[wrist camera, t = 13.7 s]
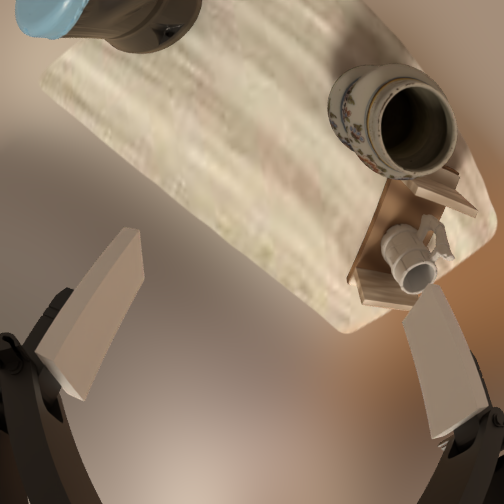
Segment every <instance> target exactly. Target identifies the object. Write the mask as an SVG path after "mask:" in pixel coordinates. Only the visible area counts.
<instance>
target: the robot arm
mask: <svg viewBox="0 0 504 504" xmlns="http://www.w3.org/2000/svg"><path fill="white" fill-rule="evenodd" d="M201 3H202V0H16V5H15V15H16V21H17V24H18V26H19V28H20V30H21V31H22V32H23V33H24V34H26V35H29V36H31V37H41V38H48V39H51V40H52V39H53V40H54V39H59V38H96V39H105V40H106V41H107V42H108V43H110V44H111V45H112V46H113V47H115V48H116V49H118V50H121V51H124V52H128V53H137V54H146V53H153V52H156V51H160V50H162V49H165V48H167V47H169V46H170V45H172V44H174V43H175V42H177V41H178V40H179V39H181V38H182V37H183V36H184V35H185V34H186V33H187V32H188V31H189V30H190V28H191V27H192V26H193V24H194V23H195V21H196V19H197V17H198V15H199V12H200V9H201ZM144 279H145V277H144V269H143V260H142V250H141V239H140V230H138V229H133V228H127V227H124V228H123V229H122V230H121V231H120V232H119V234H118V235H117V236H116V237H115V238H114V240H113V241H112V242H111V243H110V244H109V246H108V247H107V248H106V249H105V251H104V252H103V253H102V254H101V256H100V257H99V258H98V259H97V261H96V262H95V263H94V264H93V266H92V267H91V269H90V270H89V271H88V272H87V274H86V275H85V276H84V278H83V279H82V280H81V282H80V283H79V284H78V286H77V287H76V289H75V290H73V289H70V288H65V289H64V290H62V291H61V292H60V293H58V294H57V295H56V296H55V297H54V299H53V300H52V302H51V303H50V304H49V307H48V308H47V309H46V310H45V312H44V313H43V316H41V317H40V319H39V320H38V322H37V323H36V325H35V326H34V328H33V330H32V331H31V333H30V334H29V336H28V338H27V339H26V341H25V342H24V344H23V345H22V346H21V345H20V343H19V341H18V340H17V339H16V337H15V336H14V335H13V334H11V333H1V334H0V504H29V503H28V499H29V501H30V504H102V502H101V500H100V498H99V497H98V494H97V492H96V490H95V488H94V486H93V484H92V482H91V480H90V478H89V476H88V473H87V471H86V469H85V467H84V464H83V462H82V459H81V457H80V455H79V452H78V449H77V447H76V444H75V441H74V439H73V436H72V433H71V430H70V427H69V423H68V420H67V417H66V414H65V410H64V407H63V403H62V399H61V396H60V394H59V391H60V389H61V387H62V388H63V389H64V390H65V391H66V392H67V393H68V394H70V395H71V396H74V397H76V398H78V399H80V400H82V401H85V400H86V397H87V395H88V392H89V390H90V388H91V385H92V383H93V381H94V379H95V376H96V374H97V372H98V370H99V368H100V365H101V363H102V361H103V359H104V357H105V355H106V353H107V350H108V348H109V346H110V344H111V342H112V340H113V338H114V336H115V334H116V332H117V330H118V328H119V326H120V324H121V322H122V320H123V318H124V316H125V315H126V313H127V311H128V309H129V307H130V305H131V303H132V301H133V299H134V298H135V296H136V294H137V292H138V290H139V288H140V287H141V285H142V283H143V281H144ZM402 323H403V326H404V329H405V332H406V336H407V339H408V342H409V345H410V348H411V352H412V355H413V359H414V362H415V366H416V370H417V374H418V377H419V381H420V385H421V389H422V394H423V398H424V403H425V407H426V412H427V417H428V422H429V427H430V433H431V438H432V439H434V438H438V437H442V436H444V435H446V434H448V433H450V432H451V431H453V430H454V435H452V436H450V437H449V438H447V439H445V440H443V441H442V442H440V444H439V445H438V447H440V446H442V445H444V444H446V443H447V445H445V446H444V447H442V450H444V452H443V455H442V457H441V459H440V461H439V463H438V466H437V468H436V470H435V472H434V474H433V476H432V478H431V480H430V482H429V484H428V485H427V487H426V489H425V491H424V493H423V494H422V496H421V498H420V499H419V501H418V503H417V504H504V455H502V456H500V457H499V453H500V451H502V450H504V413H503V411H501V409H500V408H498V407H492V404H491V401H490V397H489V394H488V391H487V388H486V385H485V382H484V379H483V378H482V373H481V371H480V370H479V369H480V368H479V365H478V362H477V360H476V358H475V356H474V355H473V353H472V352H471V350H469V347H468V345H467V342H466V340H465V338H464V335H463V333H462V331H461V328H460V327H459V324H458V322H457V320H456V318H455V315H454V313H453V311H452V309H451V307H450V305H449V303H448V301H447V299H446V297H445V295H444V293H443V291H442V290H441V288H440V286H439V285H435V284H429V283H428V285H427V286H426V288H425V289H424V291H423V292H422V294H421V296H420V297H419V299H418V300H417V302H416V303H415V305H414V306H413V307H412V309H411V310H410V312H409V313H408V315H407V316H406V318H405V319H404V320H403V322H402ZM498 457H499V458H498ZM27 497H28V498H27Z"/></svg>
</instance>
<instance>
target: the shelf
mask: <svg viewBox="0 0 504 504" xmlns="http://www.w3.org/2000/svg"><path fill="white" fill-rule="evenodd" d="M458 175H459V173H458V172H457V171H455V170H453V169H451V168H449V167H447V166H445V165H444V166H443V167H442V168H440V169H439V170H437V171H435V172H433V173H431V174H428V175H424V176H422V177H419V178H416V179H412V180H395V179H390V178H387V181H386V184H385V187H384V190H383V192H382V195H381V198H380V201H379V203H378V206H377V208H376V211H375V214H374V216H373V219H372V221H371V224H370V226H369V229H368V231H367V233H366V236H365V238H364V241H363V243H362V245H361V248H360V250H359V252H358V254H357V257H356V259H355V261H354V263H353V266H352V268H351V270H350V272H349V274H348V276H347V283H348V284H349V285H354V286H357V288H358V292H359V296H360V299H361V303H362V305H367V306H375V307H382V308H389V309H397V310H405V311H410V310H411V309H412V307H413V306H414V305H415V303H416V302H417V300H418V299H419V297H418V295H417V294H408V293H406V292H404V291H403V290H402V289H401V287H400V285H399V283H398V282H397V281H396V280H395V279H394V277H393V275H392V272H391V267H390V265H389V264H387V262H386V261H385V260H384V258H383V256H382V253H381V240H382V238H383V236H384V235H385V234H386V233H387V230H388V229H390V228H391V227H392V226H394V225H397V224H398V225H400V224H408V225H410V226H412V227H413V228H415V229H416V230H419V227H420V224H421V218H422V215H424V214H425V215H432V216H434V217H435V218H437V219H438V221H439V220H440V218H441V216H442V214H443V212H444V209H445V207H446V206H447V207H449V208H452V209H454V210H457V211H459V212H462V213H464V214H467V215H469V216H471V217H474V218H476V215H477V213H478V210H477V209H476V208H475V207H474V206H473V205H472V204H470V203H469V202H468V201H467V200H466V199H465V198H464V197H463V196H462V195H461V194H459V193H458V192H457V191H456V190H455V189H456V186H457V184H458V181H459V179H460V176H458ZM433 233H434V231H432V230H431V231H428V232H427V234H426V236H425V238H424V240H423V244H424V245H425V247H427V245H428V243H429V241H430V239H431V237H432V235H433Z"/></svg>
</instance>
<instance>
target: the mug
mask: <svg viewBox="0 0 504 504" xmlns="http://www.w3.org/2000/svg"><path fill="white" fill-rule="evenodd" d="M431 230H432V231H434V233H435V234H436V247H435V249H434V250H433V251H432V253H430V251H429V249H428V248H427V247H425V245H424V244H423V240H424V238H425V236H426V234H427V232H428V231H431ZM449 247H450V246H449V243H448V240H447V236H446V232H445V227H444V225H443V224H442V223H441V222H439V221H438V219H437V218H435V217H434V216H432V215H425V214H424V215H422V218H421V224H420V227H419V230H416V229H415V228H413V227H412V226H410V225H408V224H400V225H398V224H397V225H394V226H392V227H391V228H390V229H388V230H387V233H386V234H385V235H384V236H383V238H382V240H381V253H382V256H383V258H384V260H385V261H386V262H387V264H389V265H390V267H391V272H392V275H393V277H394V279H395V280H396V281H397V282H398V283H399V285H400V287H401V289H402V290H403V291H404V292H406V293H408V294H419V293H421V292H423V291H424V289H425V288H426V286H427V285H428V283H429V284H433V283H434V281H435V279H436V277H437V267H436V265H435V261H436V260H437V259H438V258H439V257H440V256H441V257H442V258H443V259H444V260H448V261H451V260H454V259H455V257H454V256H453V254H452V253H451V250H450V248H449Z"/></svg>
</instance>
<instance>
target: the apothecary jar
mask: <svg viewBox="0 0 504 504" xmlns="http://www.w3.org/2000/svg"><path fill="white" fill-rule="evenodd" d="M327 109H328V117H329V121H330V124H331V127H332V129H333V131H334V132H335V134H336V136H337V137H338V138H339V139H340V141H341V142H342V143H343V144H344V145H345V146H347V147H348V148H349V149H351V150H352V151H354V152H355V153H356V154H357V156H358V157H359V158H360V160H361V161H362V162H363V163H364V164H365V165H366V166H367V167H369V168H370V169H371V170H373V171H374V172H376V173H378V174H380V175H382V176H384V177H387V178H390V179H395V180H412V179H416V178H419V177H422V176H424V175H428V174H431V173H433V172H435V171H437V170H439V169H440V168H442V167H443V166H444V165H445V164H446V163H447V161H448V160H449V159H450V157H451V155H452V153H453V151H454V149H455V146H456V142H457V123H456V119H455V115H454V112H453V110H452V108H451V106H450V104H449V102H448V100H447V98H446V96H445V94H444V93H443V91H442V90H441V88H440V87H439V86H438V85H437V83H436V82H435V81H434V80H433V79H431V78H430V77H429V76H428V75H427V74H425V73H424V72H422V71H420V70H418V69H416V68H414V67H411V66H408V65H404V64H386V65H381V66H374V65H364V66H359V67H355V68H353V69H350V70H348V71H347V72H345V73H344V74H343V75H341V76H340V77H339V78H338V80H337V81H336V82H335V84H334V85H333V87H332V89H331V91H330V94H329V98H328V107H327Z"/></svg>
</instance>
